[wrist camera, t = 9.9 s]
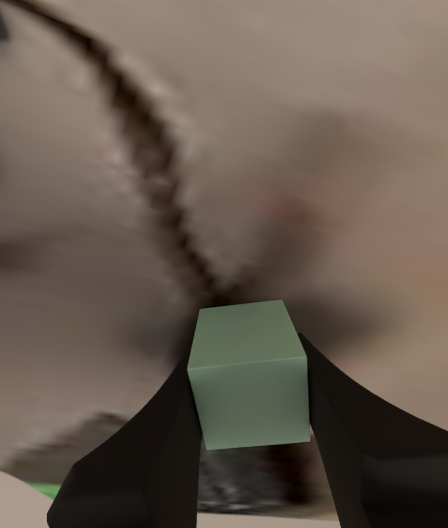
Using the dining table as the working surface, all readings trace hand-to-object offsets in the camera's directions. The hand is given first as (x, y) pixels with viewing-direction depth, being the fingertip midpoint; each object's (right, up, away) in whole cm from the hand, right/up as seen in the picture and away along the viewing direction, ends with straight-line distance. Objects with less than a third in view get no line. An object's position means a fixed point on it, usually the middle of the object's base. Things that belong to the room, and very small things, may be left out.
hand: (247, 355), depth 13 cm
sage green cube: (0, 0, +1) cm, 1 cm away
